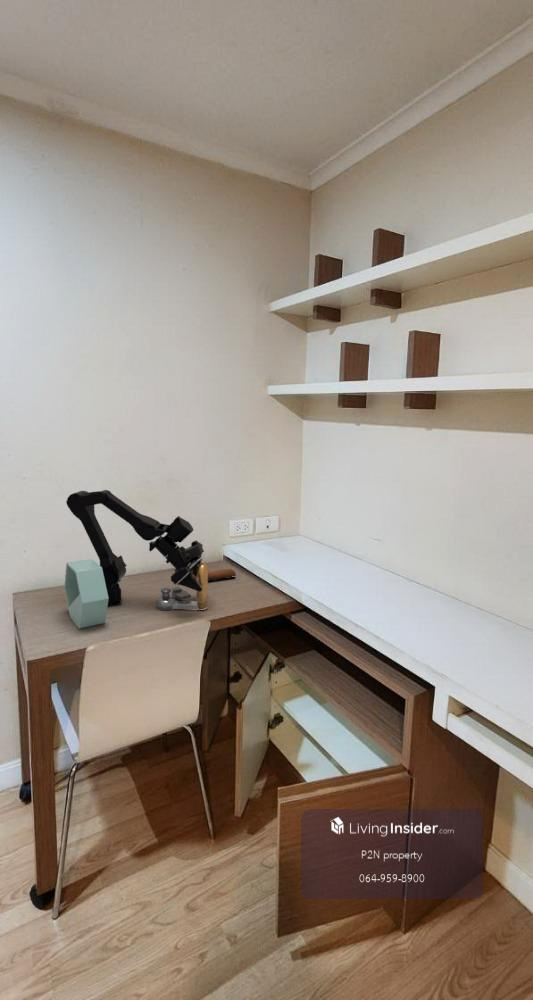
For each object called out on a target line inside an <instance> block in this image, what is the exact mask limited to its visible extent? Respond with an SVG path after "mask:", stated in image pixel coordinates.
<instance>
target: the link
mask: <svg viewBox="0 0 533 1000" xmlns="http://www.w3.org/2000/svg"><path fill="white" fill-rule="evenodd" d="M208 567H209V564H208V563H204V562H203V563H202V562H201V563H200V564H197V582H198V584H199V585H200V586H201V588H202V591H201V592H199V591H196V600H184V599H183V600H175V597H173V596H172V595H170V599H168V600H163V599H162V595H161V596H158V597H157V598H156V609H157V610H160V611H163V610H167V611H172V610H174V609H198V608H199V609H204V608H206V607H207V608H208V599H209V598H208V593H209V592H208V591H209V590H208V585H209V584H208V582H209V581H208V571H209V570H208V569H209V568H208ZM171 609H172V610H171Z"/></svg>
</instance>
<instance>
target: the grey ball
mask: <svg viewBox="0 0 533 1000" xmlns="http://www.w3.org/2000/svg"><path fill="white" fill-rule="evenodd" d="M160 593H161V596H162V599H163V600H168V599H170V596H171V594H170V593H172V588H169V587H162V588H160Z"/></svg>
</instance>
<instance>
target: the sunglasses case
mask: <svg viewBox="0 0 533 1000" xmlns="http://www.w3.org/2000/svg"><path fill="white" fill-rule="evenodd" d="M232 576H237V575H236V572H235V570H234V569H232V568H217V569H212V570H211V569H210V570H208V579H209V580H212V581H216V580H215V579H219V580H222V579H221V578H227V577H232ZM193 577H194V578H195V580H196V581H197V577H196V576H194V575H193ZM227 579H228V578H227Z"/></svg>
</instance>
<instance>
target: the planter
mask: <svg viewBox="0 0 533 1000" xmlns="http://www.w3.org/2000/svg"><path fill="white" fill-rule="evenodd" d="M63 587H64V594H65V599H66V603H67V608H68V609H67V610H68V613H69V614H68V615H69V618H70V619H71V620H72V622H73V623H74V624H75V625H76V626H77V628H78V629H84V628H89V627H93V626H98V625H102V624H105V623H106V619H107V612H108V607H109V606H108V599H109V598H108V593H107V588H106V584H105V579H104V574H103V570H102V567H101V566H100V564H98V562H96V561H95V560H94V559H92V558H90V559H81V560H75V561H69V562H66V564H65V575H64V586H63Z"/></svg>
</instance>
